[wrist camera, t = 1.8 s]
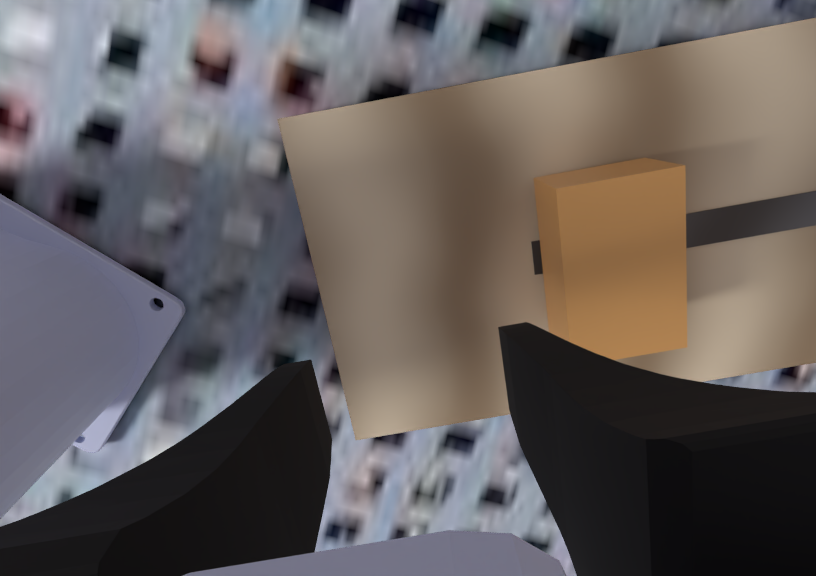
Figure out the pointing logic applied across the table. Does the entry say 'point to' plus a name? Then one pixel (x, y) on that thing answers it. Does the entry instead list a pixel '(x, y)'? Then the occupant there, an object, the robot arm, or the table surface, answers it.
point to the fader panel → (518, 224)
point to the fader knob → (615, 256)
